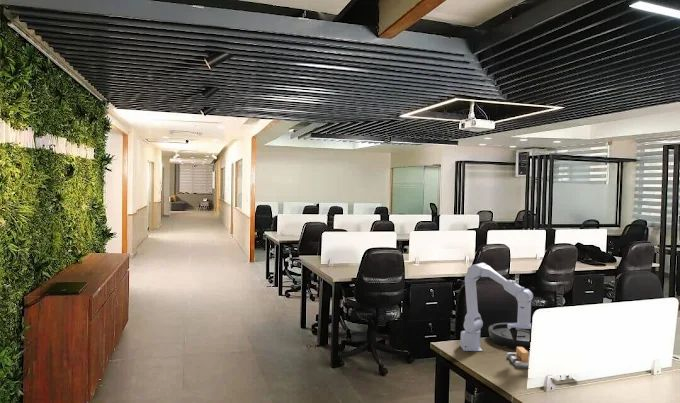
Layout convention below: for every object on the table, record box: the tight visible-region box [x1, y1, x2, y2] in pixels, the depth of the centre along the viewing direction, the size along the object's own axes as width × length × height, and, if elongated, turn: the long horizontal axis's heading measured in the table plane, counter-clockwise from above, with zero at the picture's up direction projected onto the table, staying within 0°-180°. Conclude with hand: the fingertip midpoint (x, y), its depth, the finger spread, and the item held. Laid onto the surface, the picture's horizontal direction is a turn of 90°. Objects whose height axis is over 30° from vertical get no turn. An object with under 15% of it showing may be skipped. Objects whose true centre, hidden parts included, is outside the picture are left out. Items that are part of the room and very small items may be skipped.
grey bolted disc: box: [488, 322, 530, 351], centre depth 248 cm, size 30×6×30 cm
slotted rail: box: [506, 351, 529, 369], centre depth 218 cm, size 10×13×2 cm
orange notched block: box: [515, 347, 530, 361], centre depth 218 cm, size 3×8×5 cm, turn 179°
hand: (522, 343), depth 218 cm, fingers open, 7 cm apart
